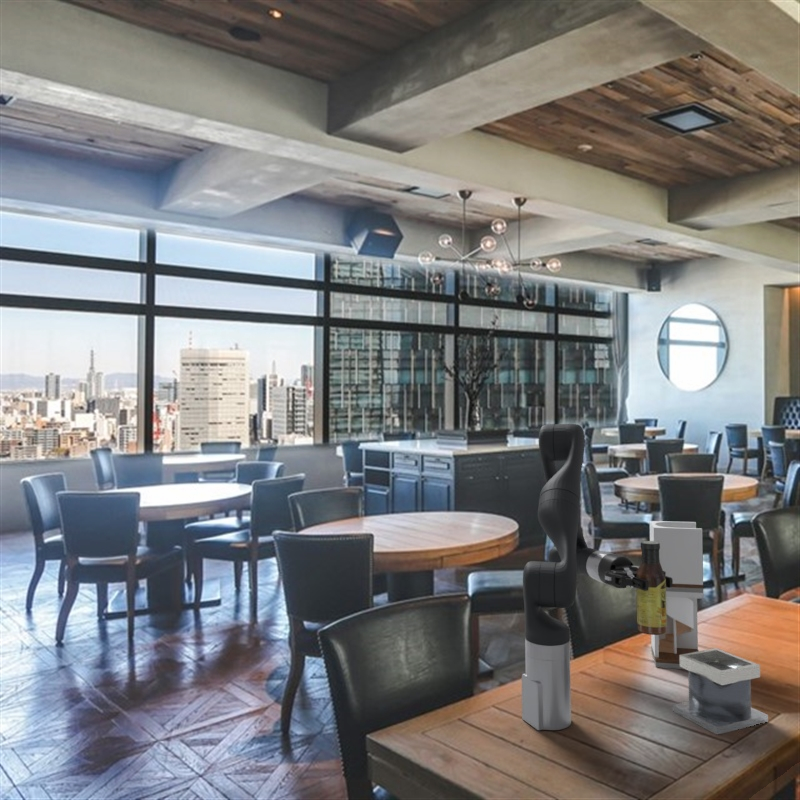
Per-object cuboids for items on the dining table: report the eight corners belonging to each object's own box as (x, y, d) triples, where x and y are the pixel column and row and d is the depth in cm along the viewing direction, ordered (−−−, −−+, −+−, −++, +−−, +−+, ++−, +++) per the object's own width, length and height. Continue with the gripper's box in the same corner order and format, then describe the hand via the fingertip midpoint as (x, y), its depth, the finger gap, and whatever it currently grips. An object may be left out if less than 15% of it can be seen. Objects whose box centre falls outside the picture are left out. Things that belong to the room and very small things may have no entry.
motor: (717, 734, 145) (716, 674, 145) (673, 711, 156) (672, 655, 156) (768, 722, 150) (767, 664, 150) (722, 700, 161) (721, 646, 161)
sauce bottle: (668, 637, 158) (668, 545, 158) (638, 635, 159) (637, 545, 159) (664, 627, 164) (663, 540, 164) (635, 626, 165) (634, 539, 165)
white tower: (655, 667, 182) (653, 527, 182) (651, 652, 192) (649, 520, 193) (704, 670, 179) (702, 528, 180) (697, 655, 190) (695, 522, 190)
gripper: (584, 555, 172) (633, 570, 156) (633, 550, 178) (684, 564, 162) (585, 587, 172) (633, 605, 156) (633, 581, 177) (684, 598, 162)
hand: (659, 584), depth 159 cm, fingers closed on sauce bottle, 6 cm apart
